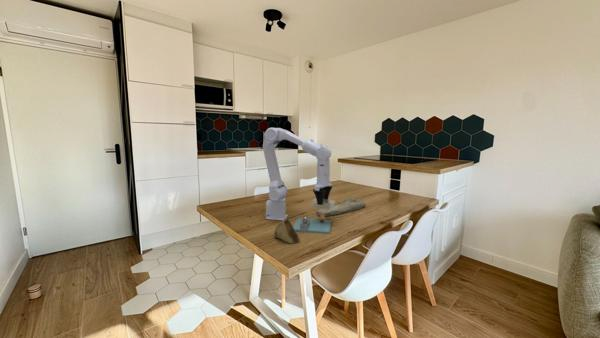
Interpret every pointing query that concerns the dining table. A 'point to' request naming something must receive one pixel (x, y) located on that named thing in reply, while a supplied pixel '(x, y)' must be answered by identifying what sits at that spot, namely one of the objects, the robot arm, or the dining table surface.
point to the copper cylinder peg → (321, 218)
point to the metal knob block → (305, 223)
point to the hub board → (314, 226)
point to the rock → (286, 232)
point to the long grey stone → (342, 207)
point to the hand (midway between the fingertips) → (322, 202)
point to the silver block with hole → (324, 204)
